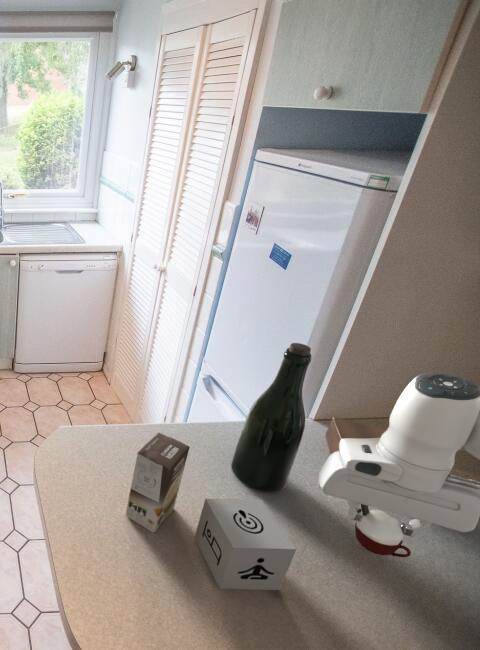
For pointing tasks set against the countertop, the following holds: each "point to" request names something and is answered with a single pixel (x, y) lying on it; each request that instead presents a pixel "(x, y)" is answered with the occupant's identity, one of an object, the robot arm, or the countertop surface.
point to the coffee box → (156, 481)
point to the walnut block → (349, 432)
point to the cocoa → (380, 533)
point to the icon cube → (243, 544)
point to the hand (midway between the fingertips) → (379, 525)
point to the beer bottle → (274, 426)
